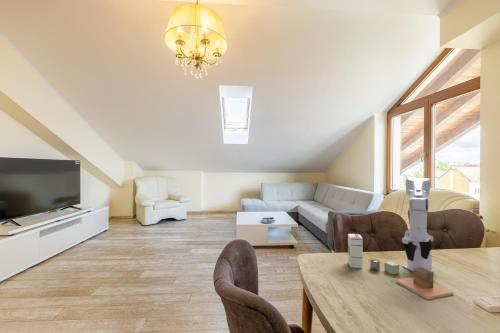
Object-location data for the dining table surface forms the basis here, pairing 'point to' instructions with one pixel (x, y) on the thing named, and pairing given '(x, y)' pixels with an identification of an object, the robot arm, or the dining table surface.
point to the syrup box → (355, 251)
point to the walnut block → (423, 278)
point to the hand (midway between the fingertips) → (417, 259)
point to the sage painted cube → (391, 267)
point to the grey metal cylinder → (375, 265)
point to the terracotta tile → (425, 293)
